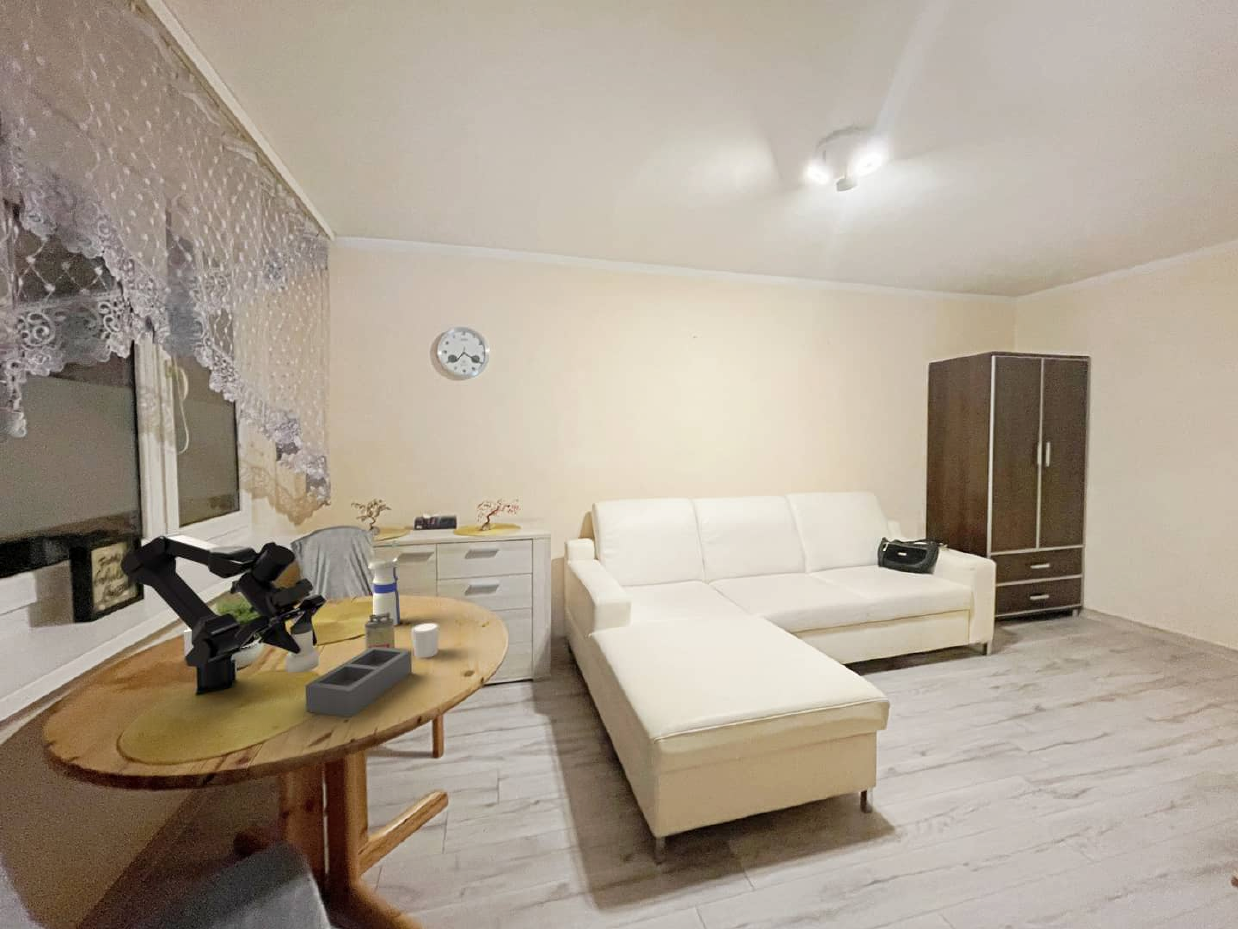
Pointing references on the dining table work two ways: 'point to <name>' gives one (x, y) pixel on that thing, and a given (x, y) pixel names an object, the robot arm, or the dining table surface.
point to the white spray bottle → (386, 587)
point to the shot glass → (425, 639)
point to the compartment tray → (358, 681)
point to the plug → (302, 650)
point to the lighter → (379, 632)
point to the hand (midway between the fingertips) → (307, 648)
